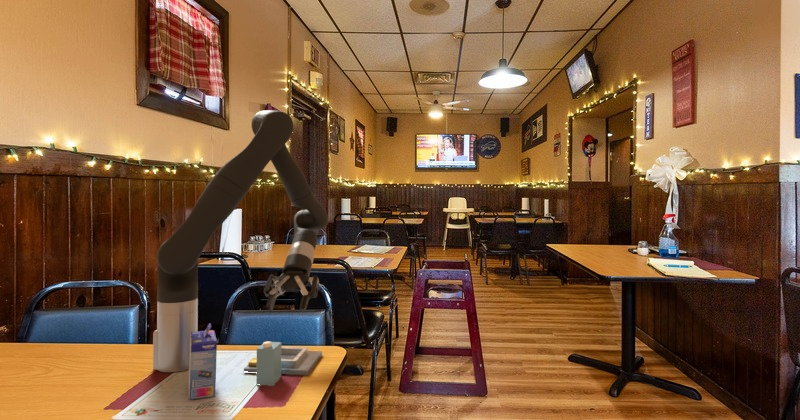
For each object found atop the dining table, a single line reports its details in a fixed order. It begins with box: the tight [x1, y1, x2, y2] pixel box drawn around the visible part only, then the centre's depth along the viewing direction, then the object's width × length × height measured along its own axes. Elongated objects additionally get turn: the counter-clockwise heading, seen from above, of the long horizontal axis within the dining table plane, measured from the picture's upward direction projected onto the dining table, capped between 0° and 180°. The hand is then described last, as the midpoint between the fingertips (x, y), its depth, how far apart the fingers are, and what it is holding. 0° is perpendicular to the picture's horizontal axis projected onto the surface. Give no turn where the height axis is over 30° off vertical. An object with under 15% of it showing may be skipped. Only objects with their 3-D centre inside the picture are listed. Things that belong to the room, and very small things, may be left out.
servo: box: [256, 340, 282, 387], centre depth 98 cm, size 4×5×10 cm
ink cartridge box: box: [187, 322, 218, 401], centre depth 93 cm, size 10×6×14 cm, turn 27°
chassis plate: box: [243, 346, 323, 377], centre depth 109 cm, size 16×14×3 cm
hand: (285, 309), depth 109 cm, fingers open, 8 cm apart
